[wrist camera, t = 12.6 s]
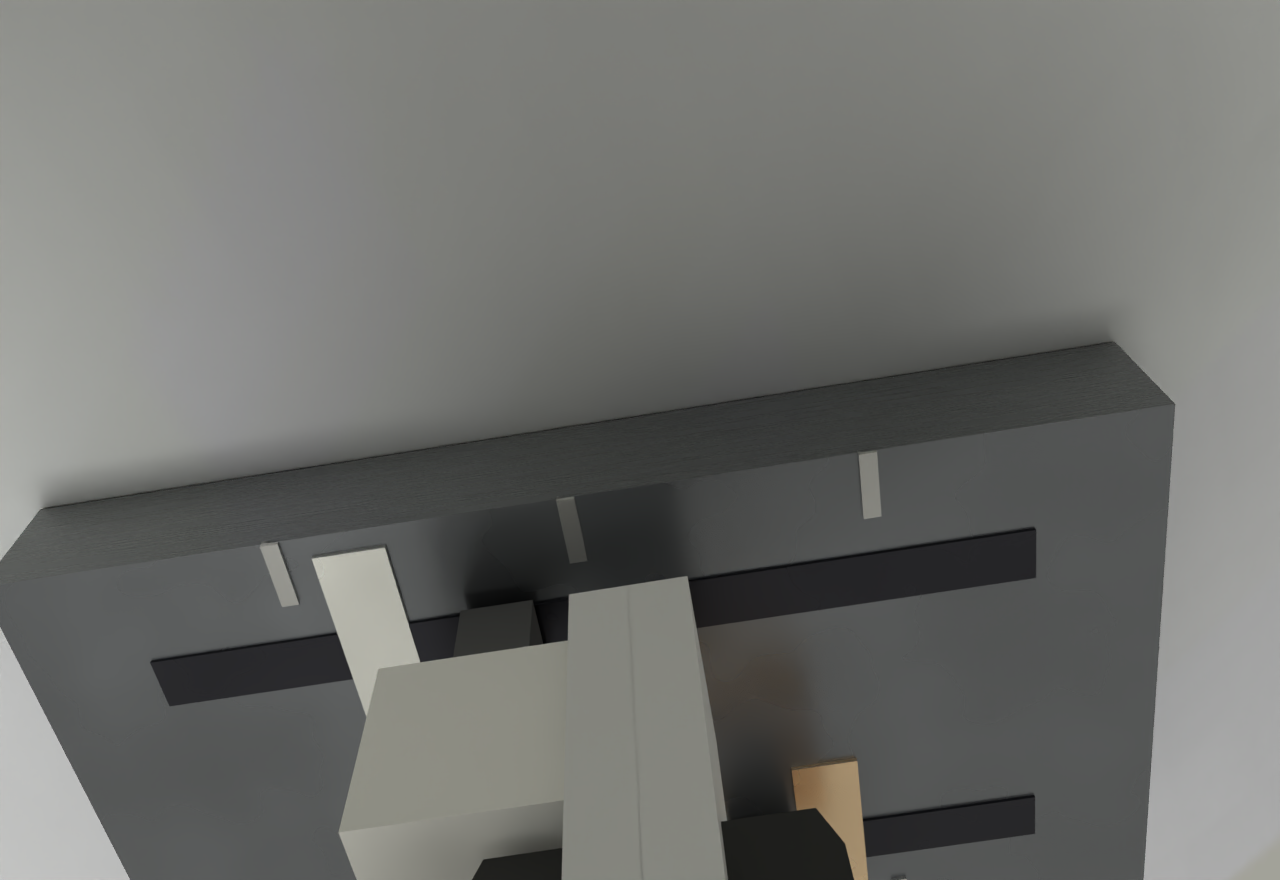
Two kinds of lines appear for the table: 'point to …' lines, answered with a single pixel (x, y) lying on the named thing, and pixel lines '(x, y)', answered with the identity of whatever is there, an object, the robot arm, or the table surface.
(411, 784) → the fader
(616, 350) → the table surface
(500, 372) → the table surface
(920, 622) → the console
